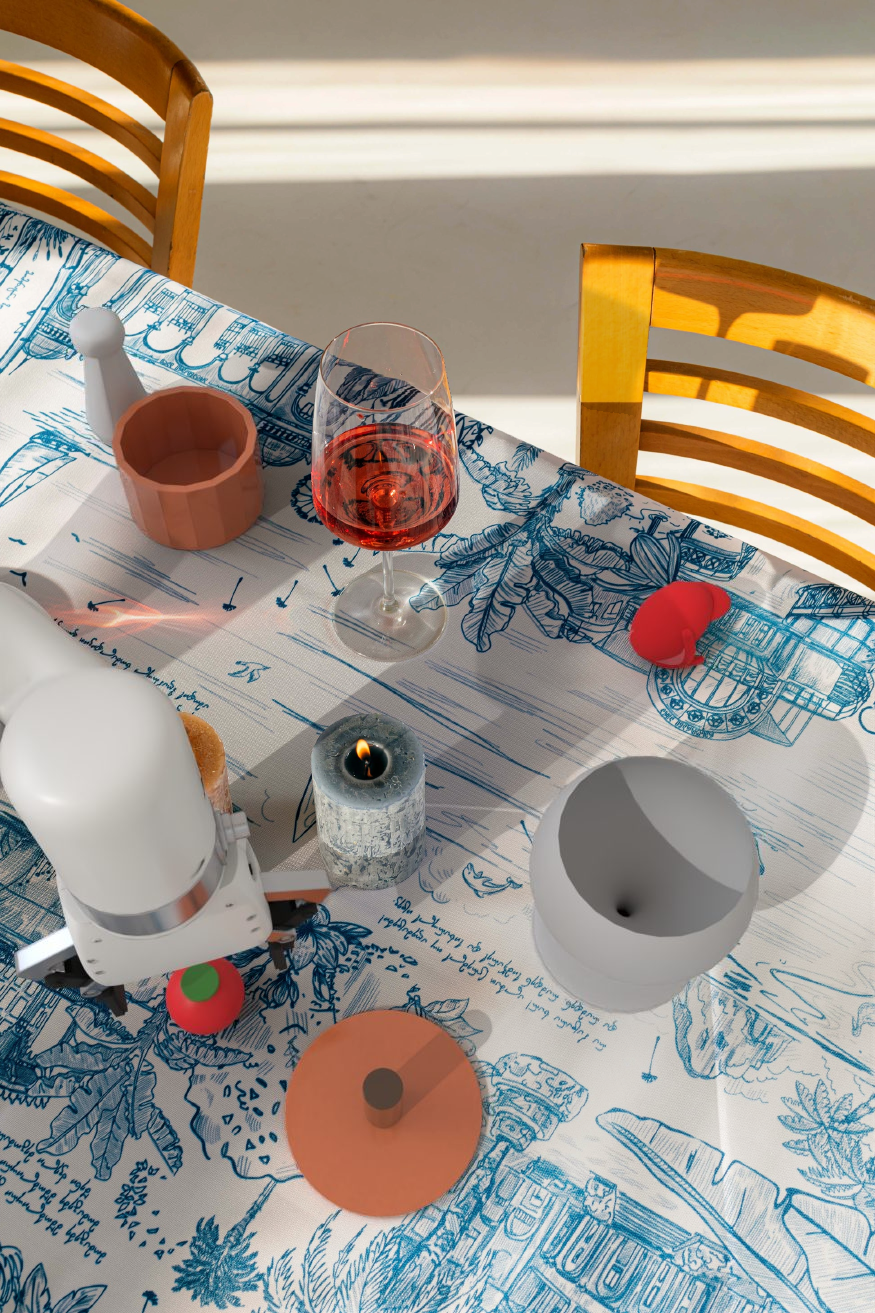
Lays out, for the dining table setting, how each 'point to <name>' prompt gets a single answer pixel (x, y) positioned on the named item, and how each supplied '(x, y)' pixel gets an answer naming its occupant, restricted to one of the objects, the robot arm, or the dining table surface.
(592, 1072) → the dining table surface
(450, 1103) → the lid
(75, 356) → the dining table surface
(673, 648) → the cap
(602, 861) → the chalice
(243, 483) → the pot
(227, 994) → the tomato
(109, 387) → the salt shaker
